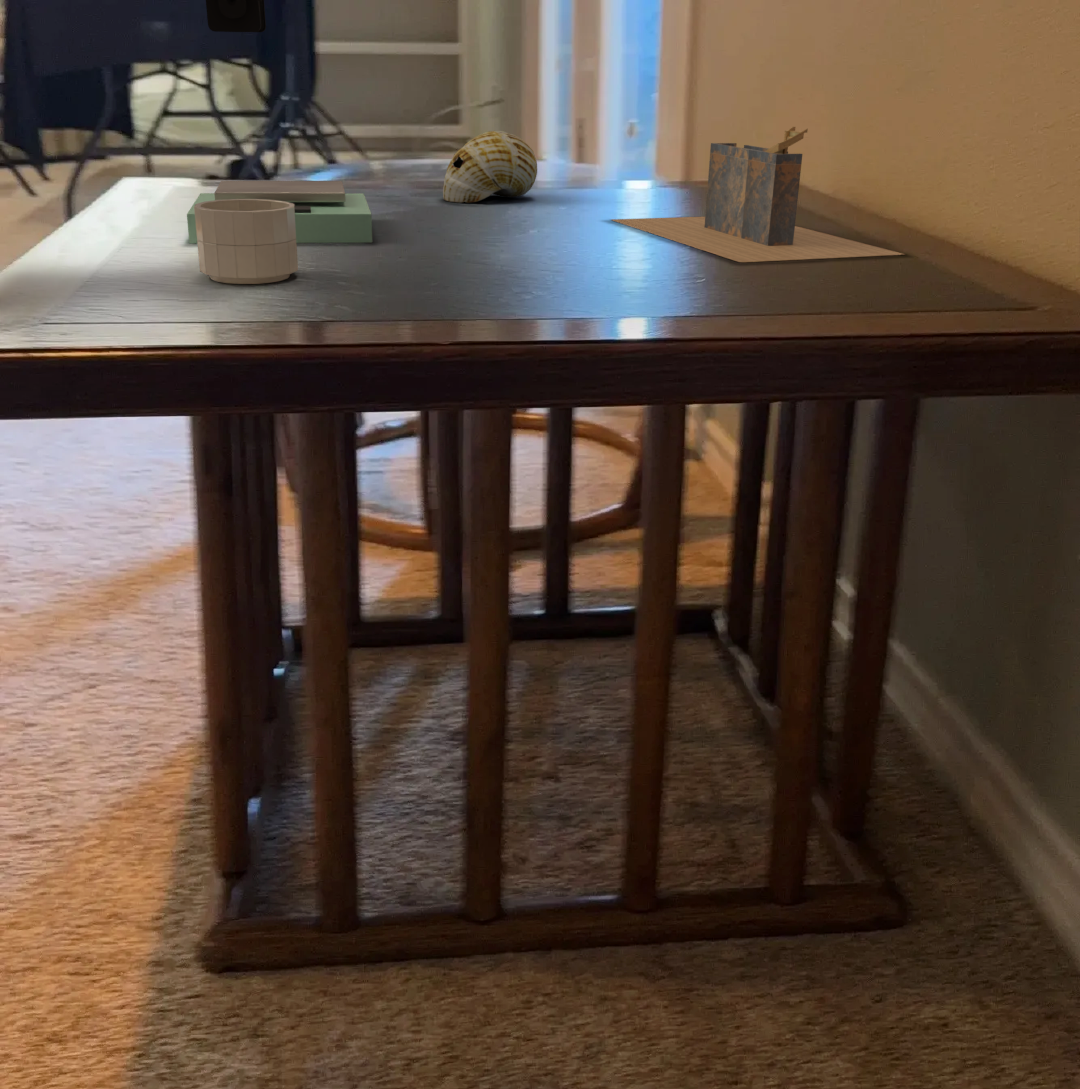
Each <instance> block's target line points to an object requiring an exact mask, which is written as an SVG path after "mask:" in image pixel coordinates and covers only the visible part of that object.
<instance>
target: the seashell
mask: <svg viewBox="0 0 1080 1089" xmlns="http://www.w3.org/2000/svg"><path fill="white" fill-rule="evenodd" d="M537 175H538V162H537V158H536V155H535V152H534V150H533V149H532V147H531V146H530V145H529V144H528V143H527V142H526V141H525V140H524V139H522V138H520V137H519V136H517V135H515V134H513V133H510V132H506V130H493V131H491V130H489V131H486V132H483V133H480V134H479V135H476V136H474V137H473V138H471V139H470V140H468V142H466V143H465V144H464V146H463V147H461V148H459V149H458V150H457V151H456V152H455V153H454V154H453V156H452V158H451V159H450V161H449V164H448V165H447V168H446V172H445V174H444V179H443V180H444V182H443V184H442V197H443V200H444V201H446V202H451V203H460V204H461V203H464V202H465V203H477V202H481V201H482V200H485V199H486V198H488V197H490V196H491V195H493V196H497V197H502V198H516V197H522V196H524V195H526V194H527V193H528V192H529V191H530V190H531V189H532V188H533V186H534V184H535V181H536V179H537Z"/></svg>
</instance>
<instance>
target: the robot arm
mask: <svg viewBox="0 0 1080 1089" xmlns="http://www.w3.org/2000/svg"><path fill="white" fill-rule="evenodd" d="M205 8H206V17H207V18H206V19H207V26H208V28H209V30H210V31H212V32H215V33H218V32H220V33H263V32H265V31H266V28H267V22H266V20H267V19H266V9H265V8H266V7H265V0H205Z"/></svg>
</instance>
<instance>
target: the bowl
mask: <svg viewBox="0 0 1080 1089" xmlns="http://www.w3.org/2000/svg"><path fill="white" fill-rule="evenodd" d="M194 211H195V222H196V233H197V244H196V245H197V253H198V254H197V255H198V265H199V272H200V273H202V274H204V275H206V276H209V278H210V280H212V281H214V282H219V283H223V284H231V285H261V284H270V283H272V284H273V283H277V282H282V281H285V280H287V279H289V278H290V276H291V275H292V274H293V273H296V272H298V271H299V260H298V243H297V241H296V223H295V205H294V204H293V203H289V202H286V201H278V200H265V199H228V200H214V201H206V202H201V203H197V204H196V205H195V206H194Z"/></svg>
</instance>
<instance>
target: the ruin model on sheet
mask: <svg viewBox="0 0 1080 1089" xmlns="http://www.w3.org/2000/svg"><path fill="white" fill-rule="evenodd" d="M796 129H797V128H796V126H792V127H791V128H789V129H788V130H784V133H783V134H784V135H783V141H781V142H779V143H776V144H774V145H773V146H771V147H770V148H769V147H768V148H767V147H762V146H755V145H751V144H744V145H743V147H739V146H738V143H737V142H710V151H709V162H708V177H707V191H706V201H705V202H706V203H705V214H704V215H705V216H679V217H678V216H677V217H647V218H646V217H645V218H644V217H643V218H617V219H616V218H615V219H612V221H613V222H616V223H619V224H621V225H625V226H628V227H631V228H634V229H637V230H640V231H643V232H646V233H649V234H652V235H655V236H658V237H662V238H665V239H667V240H671V241H674V242H676V243H680V244H682V245H685V246H689V247H692V248H695V249H698V250H701V251H704V252H708V253H710V254H714V255H716V256H720V257H721V258H722V257H723V258H725V259H729V260H731V261H735V262H738V263H756V262H757V263H758V262H777V261H780V262H781V261H797V260H798V261H799V260H819V259H821V260H822V259H839V258H860V257H861V258H862V257H881V256H901V255H905V253H903V252H898V251H895V250H890V249H886V248H883V247H879V246H876V245H872V244H868V243H863V242H860V241H856V240H852V239H848V238H844V237H841V236H836V235H832V234H828V233H825V232H821V231H817V230H813V229H809V228H805V227H801V226H797V225H796V220H797V219H796V218H797V210H798V209H797V208H798V202H799V201H798V199H799V191H800V181H801V180H800V179H801V173H802V162H803V153H789V151H788V150H789V147H791V146H793V145H794V144H796V143H798V142H800V141H801V140H803V139H804V134H805V133H807V134H808V132H809V131H808V128H806V129H804V130H802V131H797V130H796Z"/></svg>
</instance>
